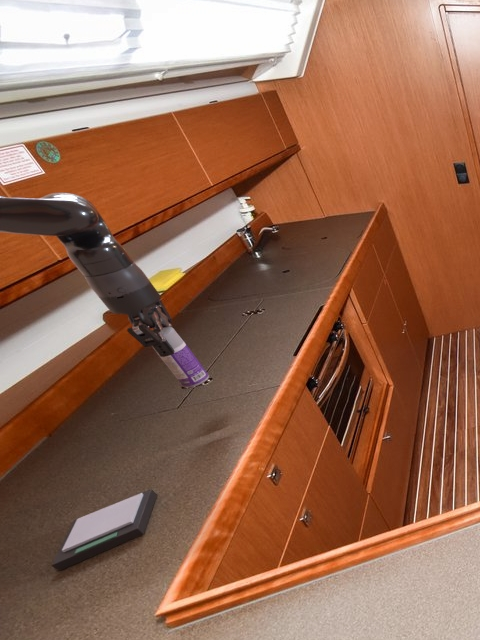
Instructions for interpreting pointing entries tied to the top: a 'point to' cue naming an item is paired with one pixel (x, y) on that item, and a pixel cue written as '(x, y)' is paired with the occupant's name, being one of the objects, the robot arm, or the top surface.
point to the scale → (105, 529)
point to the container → (183, 361)
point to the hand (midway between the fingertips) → (171, 348)
